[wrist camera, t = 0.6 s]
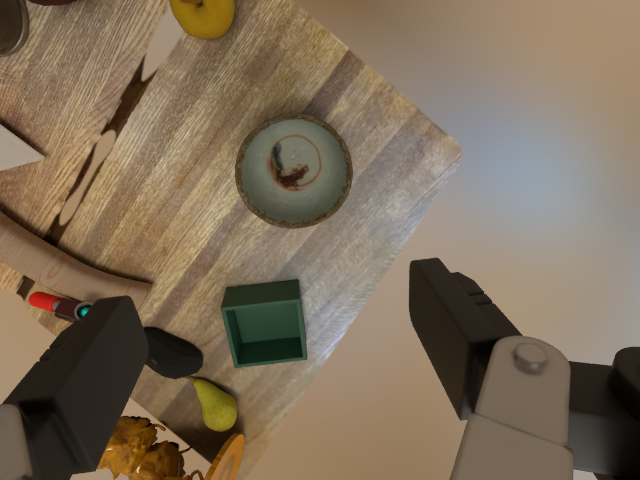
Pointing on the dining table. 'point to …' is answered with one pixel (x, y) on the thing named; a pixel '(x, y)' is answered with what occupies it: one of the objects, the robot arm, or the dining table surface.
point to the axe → (47, 261)
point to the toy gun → (60, 306)
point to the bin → (264, 323)
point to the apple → (204, 16)
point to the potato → (52, 2)
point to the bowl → (293, 171)
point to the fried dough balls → (161, 454)
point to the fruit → (215, 405)
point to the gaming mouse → (171, 355)
